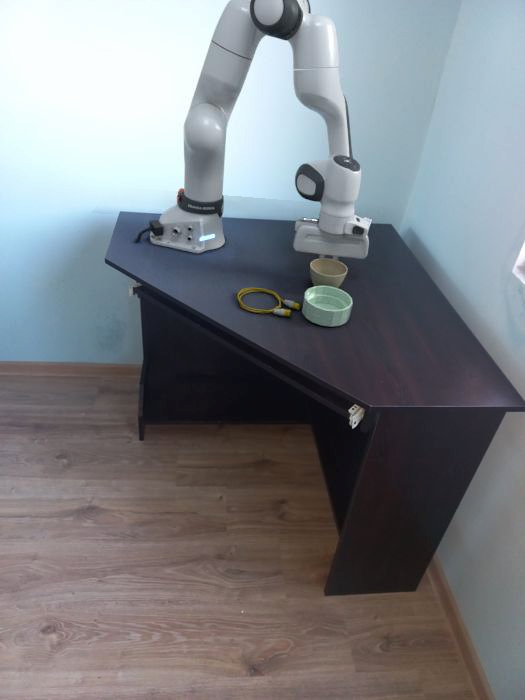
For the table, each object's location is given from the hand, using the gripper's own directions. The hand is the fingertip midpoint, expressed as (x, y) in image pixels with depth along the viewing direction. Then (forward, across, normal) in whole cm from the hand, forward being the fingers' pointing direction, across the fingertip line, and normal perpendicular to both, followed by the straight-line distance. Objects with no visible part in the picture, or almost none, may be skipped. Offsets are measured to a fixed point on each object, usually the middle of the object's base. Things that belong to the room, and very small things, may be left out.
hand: (326, 268), depth 149 cm
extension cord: (+4, -16, -17) cm, 24 cm away
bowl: (+4, 0, -19) cm, 19 cm away
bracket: (+4, +8, +33) cm, 35 cm away
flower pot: (+4, 0, -6) cm, 7 cm away
